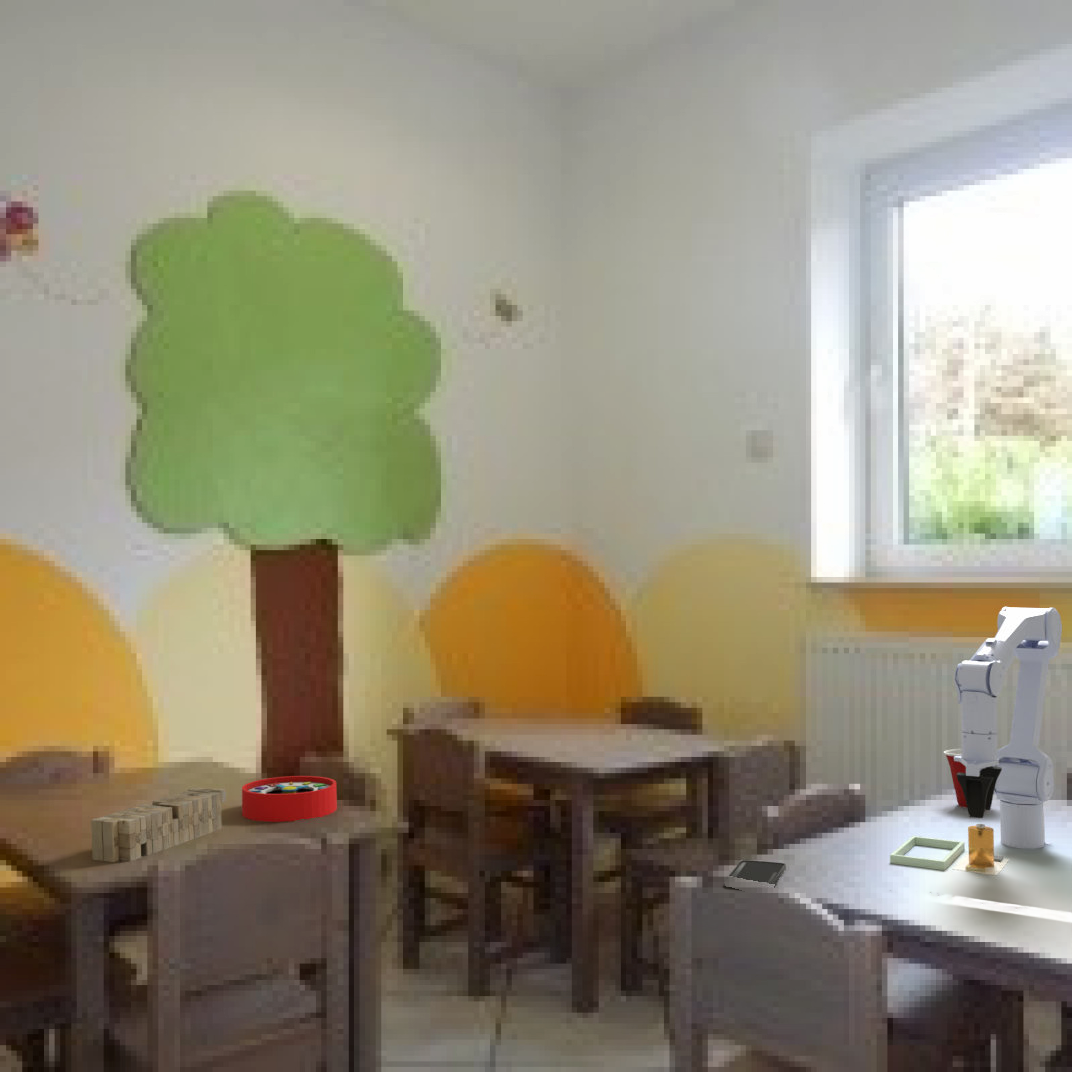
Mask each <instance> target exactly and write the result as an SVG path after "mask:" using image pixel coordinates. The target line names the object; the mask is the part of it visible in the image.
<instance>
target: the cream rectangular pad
mask: <svg viewBox="0 0 1072 1072" xmlns="http://www.w3.org/2000/svg"><path fill="white" fill-rule="evenodd" d="M1009 861H1010V859H1009V858H1004V856H1003V855H995V854H994V866H993V867H985V866H977V865H970V864H969V853H966V854H965V855H964V856H963V857H962V858H961V859H960V861H959V862H958V863H957V864H956V865H955V866H954V867H953V868H952V870H954V871H962V872H963V871H964V872H970V873H978V874H985V875H992V876H998V875H999V874H1000V872H1001V871H1002V870H1003V869H1004V868H1005V866H1006V865H1007V863H1009Z"/></svg>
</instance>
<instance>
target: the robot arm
mask: <svg viewBox="0 0 1072 1072" xmlns="http://www.w3.org/2000/svg"><path fill="white" fill-rule="evenodd" d="M996 622H997V624H996V625H997V631H996V634H995V636H994V637H993V638H986V640H984V641H983V643H982V644H981V645H980V647H979V648H978V649H977V651H976V652H975V653H974V654H973V656H972V657H971V658H970V659H969V660H963V661H962V662H961V663H958V664H957V666H956V668H955V671H954V678H953V680H954V681H953V682H954V688H955V690H956V695H957V697H956V698H957V699H956V700H957V703H958V704H959V705H960V744H961V748H960V749H961V756H955V757H954V761H959V762H961V763H962V764H963V765H965V766H966V773H957V780H958V781H959V783H960V785H961V787H962V790H963V793H964V796H965V800H966V805H967V808H966V810H967V813H968V816H969V818H977V819H983V818H984V817H985V812H986V811H990V810H991V808H992V804H993V798H994V795H995V797H996V800H999V813H1000V815H999V817H1000V822H999V823H1000V843H1001V844H1002V845H1004V846H1007V847H1010V848H1011V847H1012V848H1016V849H1017V848H1018V849H1028V850H1029V849H1031V850H1032V849H1040V848H1043V847H1045V844H1047V845H1051V843H1052V842H1048V841H1046V839H1045V838H1046V836H1045V809H1044V803H1045V802H1047V801H1048V800H1049V799H1050V798H1051V797H1052V796H1053V792H1054V786H1055V778H1054V764H1053V763H1054V762H1053V761H1052V759H1051V758H1050V756H1048V755H1047V754H1046V753H1045V752H1044V751H1043V750H1041V749H1040V748H1039V747H1040V746H1039V745H1040V738H1041V729H1042V722H1043V721H1042V720H1043V712H1044V704H1045V695H1046V686H1047V679H1048V671H1049V666H1050V660H1052V659H1054V658H1055V657H1057V656H1059V651H1060V647H1061V639H1062V634H1063V633H1062V632H1063V631H1062V630H1063V626H1062V625H1063V624H1062V619H1061V615H1060V612H1059V611H1058V610H1057V609H1056V608H1055V607H1049V608H1048V607H1047V608H1046V607H1045V608H1044V607H1043V608H1042V607H1041V608H1040V607H1009V606H1004V607H1002V608H1001V610H1000V611H999V612H998V615H997V621H996ZM1015 657H1016V658H1018V660H1019V667H1018V675H1017V683H1016V689H1015V690H1016V691H1015V697H1014V706H1013V714H1012V723H1011V728H1010V729H1011V730H1010V739H1009V743H1008V744H1006V745H1004V746H1003V747H1001V748H998V696H999V695H1000V694H1001V692H1002V690H1003V685H1004V681H1005V677H1006V676H1005V673H1006V672H1007V670H1009V668H1010V666H1011V665H1012V663H1014V659H1015Z"/></svg>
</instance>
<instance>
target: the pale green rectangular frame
mask: <svg viewBox="0 0 1072 1072" xmlns="http://www.w3.org/2000/svg"><path fill="white" fill-rule="evenodd" d="M915 845H917V846H925V847H933V848H940V849H948V850H949V849H950V850H951V851H950V852H949V853H948V854H947V855H946V856H945V857H944V858H942V860H939V859H933V858H926V857H917V856H909V855H905V854H906V853H907V852H908V851H910V850H911V849H912V848H913V847H914V846H915ZM963 852H965V841H958V840H952V839H949V840H948V839H942V838H936V837H935V838H932V837H925V836H917V835H916V836H915V835H912V836H910V838H908V839H907V840H906V841H905V842H903V844H901V845H900V846H899V847H897V848H896V849H895V850H894V851H893V852H892V853H891V854H889V863H891V864H894V865H895V864H896V865H897V864H898V865H904V866H910V867H911V866H912V867H919V868H926V869H933V870H941V871H942V870H943V871H946V870H947V868H948V867H949V866H950V865H951V864H952V863H954V862H955V860H956V859H958V858H959V857H960V855H962V853H963Z"/></svg>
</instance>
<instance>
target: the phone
mask: <svg viewBox="0 0 1072 1072" xmlns="http://www.w3.org/2000/svg"><path fill="white" fill-rule="evenodd" d="M786 870H787V865H786V863H784V862H775V861H773V862H772V861H765V860H763V861H762V860H751V859H750V860H749V859H744V860H740V862H738V864H737V865H736V866H735V868H733V870H732V871H731V873H730V874H729V875H728V876H733V877H737V878H743V879H746V880H753V881H758V882H767V883H769V884H776V883H777V884H778V883H779V881H780V879H781V878H782V877H783V875H784V874H785V872H786ZM784 871H785V872H784ZM782 874H783V875H782ZM780 877H781V878H780ZM779 878H780V879H779ZM778 880H779V881H778ZM777 884H776V885H777Z"/></svg>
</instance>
